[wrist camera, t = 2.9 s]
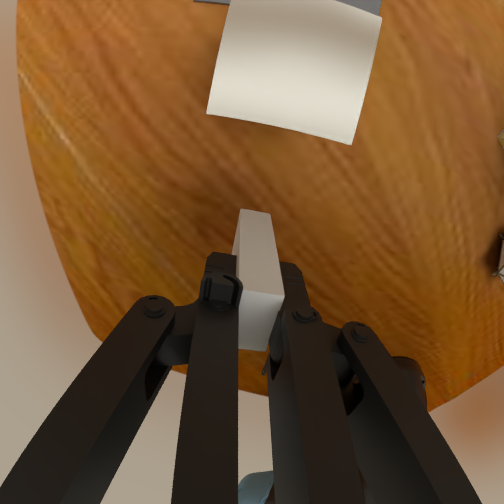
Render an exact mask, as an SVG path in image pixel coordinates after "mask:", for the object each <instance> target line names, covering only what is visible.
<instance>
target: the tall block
mask: <svg viewBox="0 0 504 504" xmlns="http://www.w3.org/2000/svg"><path fill="white" fill-rule="evenodd" d="M381 22H382V18H381V17H379V16H376V15H374V14H371V13H369V12H366V11H364V10H361V9H358V8H356V7H353V6H350V5H347V4H344V3H341V2H338V1H335V0H231V2H230V6H229V10H228V14H227V18H226V22H225V26H224V31H223V35H222V39H221V44H220V48H219V53H218V57H217V62H216V67H215V71H214V76H213V81H212V86H211V91H210V96H209V102H208V107H207V113H206V114H212V115H218V116H225V117H231V118H236V119H242V120H247V121H253V122H258V123H263V124H268V125H273V126H277V127H282V128H286V129H291V130H295V131H299V132H303V133H307V134H311V135H315V136H319V137H323V138H327V139H331V140H334V141H338V142H341V143H345V144H348V145H352V141H353V138H354V134H355V130H356V127H357V123H358V119H359V115H360V112H361V108H362V104H363V100H364V96H365V92H366V88H367V84H368V80H369V76H370V72H371V68H372V63H373V59H374V54H375V50H376V45H377V41H378V36H379V31H380V27H381Z"/></svg>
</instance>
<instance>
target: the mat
mask: <svg viewBox="0 0 504 504" xmlns="http://www.w3.org/2000/svg"><path fill="white" fill-rule="evenodd" d="M194 1H195V2H207V3H217V4H225V5H230V2H231V0H194ZM335 1H338V2H341V3H344V4H347V5H350V6H353V7H356V8H358V9H361V10H364V11H366V12H369V13H371V14H374V15H376V16H379V11H380V6H381V0H335Z"/></svg>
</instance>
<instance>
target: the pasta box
mask: <svg viewBox="0 0 504 504" xmlns="http://www.w3.org/2000/svg"><path fill="white" fill-rule="evenodd" d="M498 139H499V141H500V143H501V145H502V147H503V149H504V129H503V130H502V131H501V133H500V134H499V135H498Z"/></svg>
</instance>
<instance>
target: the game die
mask: <svg viewBox="0 0 504 504" xmlns="http://www.w3.org/2000/svg"><path fill="white" fill-rule="evenodd" d="M499 237H500V239H502V246H501V253H500V259H499V265H498V266H497V267H496V268H495V269H496V270H497V271H495V272H493V273H492V275H494V276H497V274H498V275H499V277H500V279H501V280H502V282H503V284H504V237H503V235H502V234H500V233H499Z"/></svg>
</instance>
